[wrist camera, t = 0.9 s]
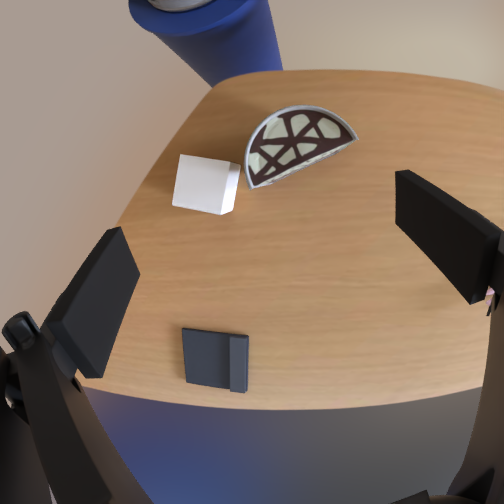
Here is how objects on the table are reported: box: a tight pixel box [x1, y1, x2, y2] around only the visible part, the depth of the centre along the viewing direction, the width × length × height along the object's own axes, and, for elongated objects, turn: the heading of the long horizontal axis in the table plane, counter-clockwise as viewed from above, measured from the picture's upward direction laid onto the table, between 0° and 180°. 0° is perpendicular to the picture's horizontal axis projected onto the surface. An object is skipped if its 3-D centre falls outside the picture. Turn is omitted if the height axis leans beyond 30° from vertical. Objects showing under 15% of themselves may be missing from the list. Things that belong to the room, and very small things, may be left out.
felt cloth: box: [182, 328, 249, 393], centre depth 45 cm, size 10×10×1 cm
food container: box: [244, 105, 359, 190], centre depth 32 cm, size 12×6×10 cm, turn 117°
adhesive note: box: [172, 154, 241, 215], centre depth 37 cm, size 6×6×6 cm
